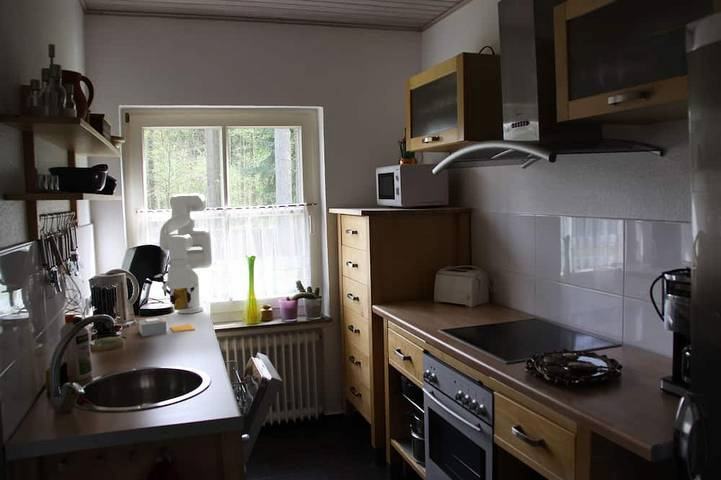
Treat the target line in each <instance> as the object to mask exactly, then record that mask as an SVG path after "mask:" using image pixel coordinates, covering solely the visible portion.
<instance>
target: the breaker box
mask: <svg viewBox="0 0 721 480" xmlns="http://www.w3.org/2000/svg"><path fill="white" fill-rule="evenodd" d="M157 318H158V319H159V322H152V323H146V321H145V319H141V320H138V329H139V330H138V332H139V333H140V335H141V337H147V336H155V335H163V334H167V321H166V320H165V319H164V318H163V317H157Z"/></svg>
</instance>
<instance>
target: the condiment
mask: <svg viewBox="0 0 721 480" xmlns="http://www.w3.org/2000/svg"><path fill="white" fill-rule="evenodd" d="M173 295H174V304H173V309H172V311H178V310H185V309H189V308H192V307H188V296H187V288H181V289H175V290H174V292H173Z"/></svg>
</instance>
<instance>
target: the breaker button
mask: <svg viewBox="0 0 721 480" xmlns="http://www.w3.org/2000/svg"><path fill="white" fill-rule="evenodd" d="M158 318H159V317H153V318H147V319H144V320H145V321H146V323H152V322H159V319H158Z"/></svg>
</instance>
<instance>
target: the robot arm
mask: <svg viewBox="0 0 721 480" xmlns="http://www.w3.org/2000/svg"><path fill="white" fill-rule="evenodd" d="M169 205H170V208H171V218H169V219H168V220H167V221H166V222H164V223H163V225H162V227H161V228H160V232H159V247H160V249H161V250H162V251H165V252H168V254H169V255H168V257H169V258H168V261H167V260H166V261H165V265H169V266H168V268H167V281H166V282H165V283H164V284H163V285H162V286H161V289H162V290H163V291H164V292H166V293H167V294H168V295H169V302H170V303H171V304H172V305H174V295H173V292H174V290H175V289H181V288H187V296H188V307H192V308H189V309H185V310H177V313H179V314H194V313H195V314H196V313H200V312H202V311H204V308H203V307H202V306H200V304H201V303H200V301H201V300H200V285H199V283H200V282H199V276H198V274H197V272H196V271H194V269H206V268H210V267H211V265H212V261H213V260H212V256H213V255H212V243H211V242H212V240H211V233H210V231H209V229H207V228H203V227H202V228H201V227H200V228H199V227H198V228H196V227H195V225H196V224H195V222H196V221H195V218H194V216H193V215H192V214H191V212H204V211H205V210H206V207H207V200H206V197H205V195H204V194H202V193H201V194H200V193H182V194H175V195H172V196H171V197H170V198H169ZM174 231H175V232H176V231H177V233H173V232H174ZM172 233H173V234H172ZM191 248H202V249H191Z"/></svg>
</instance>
